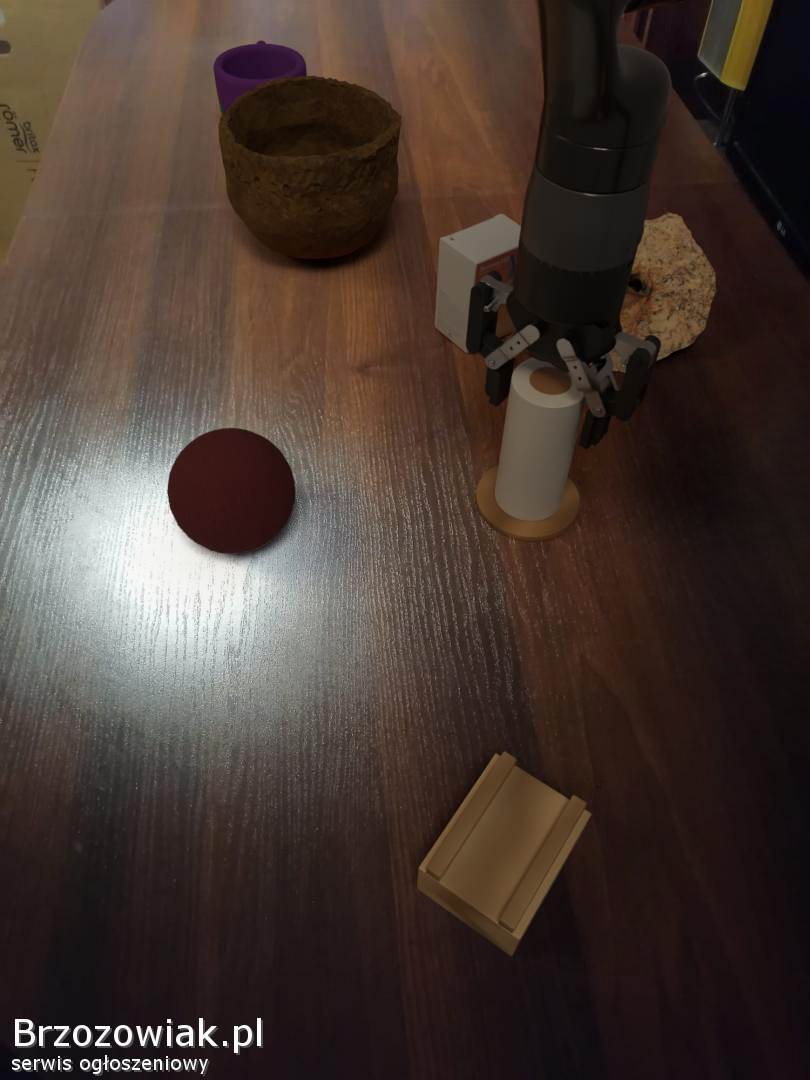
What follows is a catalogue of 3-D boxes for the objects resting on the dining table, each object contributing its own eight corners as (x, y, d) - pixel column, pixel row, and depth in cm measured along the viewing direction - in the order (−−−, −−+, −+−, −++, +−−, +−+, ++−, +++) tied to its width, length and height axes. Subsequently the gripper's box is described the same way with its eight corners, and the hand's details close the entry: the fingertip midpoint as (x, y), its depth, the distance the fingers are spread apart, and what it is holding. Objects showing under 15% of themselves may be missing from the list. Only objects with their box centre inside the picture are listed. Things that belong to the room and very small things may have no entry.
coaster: (596, 492, 76) (598, 487, 75) (547, 558, 71) (548, 553, 71) (508, 449, 79) (509, 444, 78) (455, 510, 74) (456, 505, 74)
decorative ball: (304, 487, 76) (294, 402, 68) (295, 579, 69) (284, 497, 62) (190, 485, 75) (167, 400, 68) (171, 578, 69) (143, 496, 61)
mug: (312, 162, 110) (306, 81, 102) (222, 165, 109) (210, 83, 101) (309, 99, 121) (303, 21, 113) (227, 101, 120) (216, 23, 112)
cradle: (580, 836, 57) (595, 807, 53) (511, 956, 52) (521, 935, 48) (490, 777, 59) (497, 746, 55) (416, 888, 55) (418, 862, 51)
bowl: (400, 295, 93) (402, 162, 81) (226, 293, 93) (203, 159, 81) (399, 201, 105) (401, 73, 93) (245, 199, 104) (227, 70, 93)
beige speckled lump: (590, 423, 90) (591, 392, 83) (517, 322, 95) (512, 285, 88) (738, 332, 90) (752, 293, 82) (657, 235, 94) (664, 190, 87)
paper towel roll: (603, 374, 65) (566, 417, 62) (573, 490, 75) (540, 532, 72) (535, 345, 67) (497, 386, 64) (515, 462, 77) (481, 501, 74)
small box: (466, 356, 87) (474, 265, 79) (432, 327, 90) (437, 237, 81) (526, 327, 90) (540, 237, 82) (491, 300, 93) (502, 210, 84)
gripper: (453, 221, 55) (440, 410, 68) (659, 302, 50) (603, 489, 63) (512, 172, 59) (489, 360, 72) (708, 243, 54) (646, 431, 67)
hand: (542, 420), depth 67 cm, fingers open, 7 cm apart
